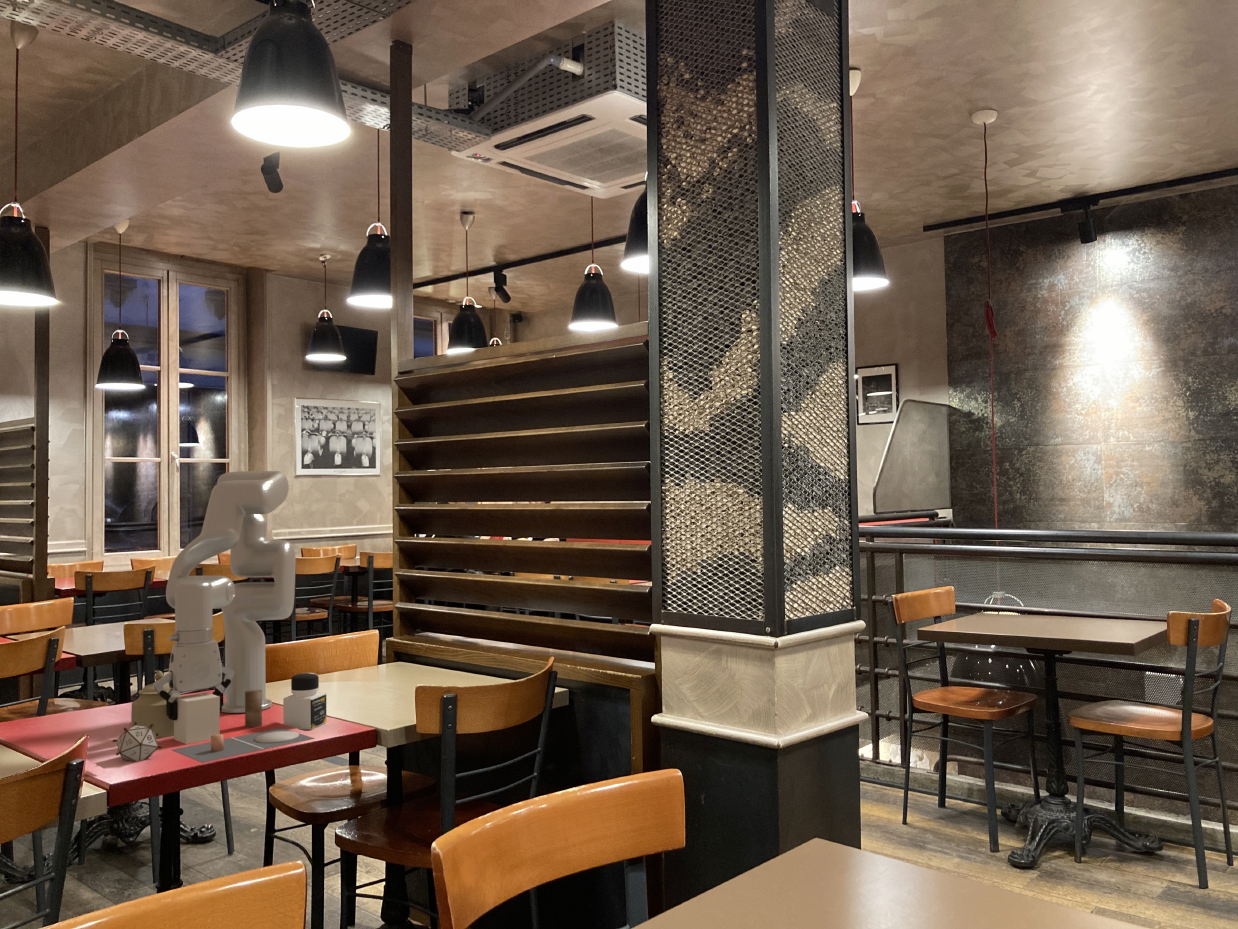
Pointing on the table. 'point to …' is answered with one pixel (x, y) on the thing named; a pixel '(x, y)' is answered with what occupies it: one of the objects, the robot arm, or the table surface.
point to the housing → (197, 718)
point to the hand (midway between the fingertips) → (195, 714)
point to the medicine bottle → (305, 703)
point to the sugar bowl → (153, 710)
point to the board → (241, 744)
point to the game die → (137, 743)
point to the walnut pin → (253, 708)
